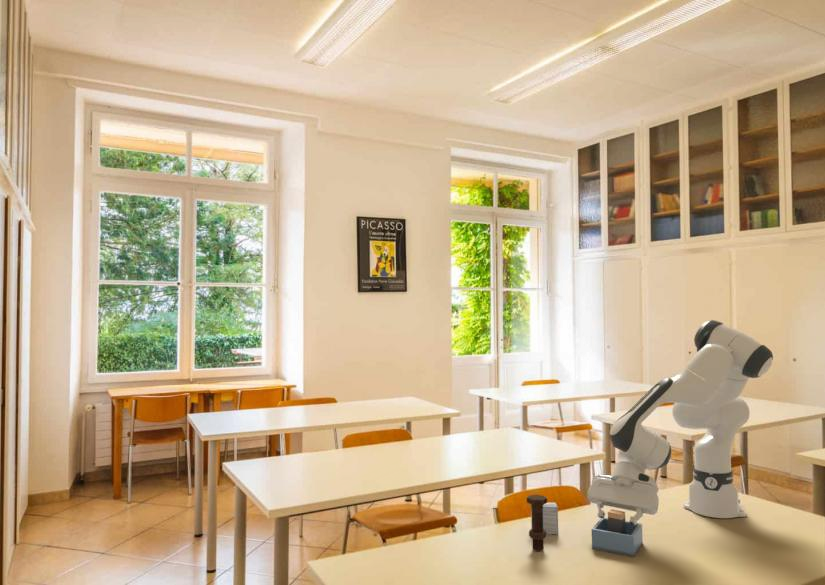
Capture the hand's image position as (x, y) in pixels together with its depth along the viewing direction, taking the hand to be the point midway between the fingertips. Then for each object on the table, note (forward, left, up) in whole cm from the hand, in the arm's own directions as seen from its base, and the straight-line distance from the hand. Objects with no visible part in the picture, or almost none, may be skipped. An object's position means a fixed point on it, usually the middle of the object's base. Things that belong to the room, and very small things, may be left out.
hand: (616, 520), depth 173 cm
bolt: (+14, -19, -7) cm, 25 cm away
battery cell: (0, 0, -6) cm, 6 cm away
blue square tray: (0, 0, -7) cm, 7 cm away
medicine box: (0, -22, -7) cm, 23 cm away
